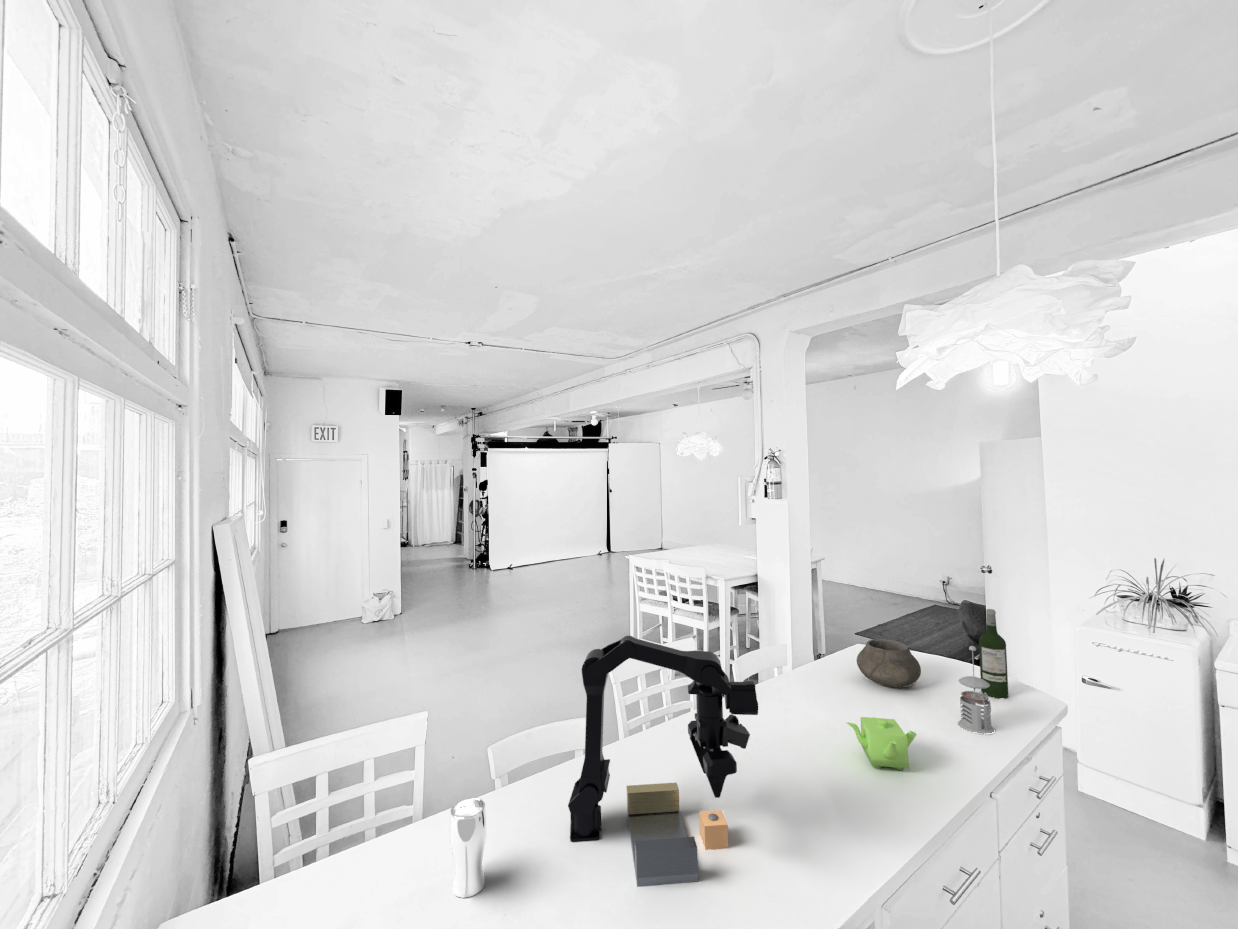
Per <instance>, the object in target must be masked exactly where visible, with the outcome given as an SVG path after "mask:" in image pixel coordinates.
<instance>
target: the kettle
mask: <svg viewBox="0 0 1238 929" xmlns="http://www.w3.org/2000/svg"><path fill="white" fill-rule="evenodd" d="M846 724H847V725H849V726H850V727H852V729H853V731H854V732H855V735H856V739H857V742H859V744H860V745H861V747H862V749H863V751H864V753H865V755H866V757H867V759H868V761H869V763H870V765H871V766H872V767H873V768H875V769H881V768H882V767H886V768H894V769H895V770H897V771H903V770H904V769H909V767H910V766H909V747H910V745H911V744H912V743H913V740H914V739H915V738H916V736H917V733H916V732H915V731H913V730H909V731H908V732H907V733H905V732H904V730H903V728H901V726H900V725H899V723H898V722H897V721H896V720H895V719H894V718H882V717H881V718H880V717H866V716H863V717H862V716H860V729H859V726H858V725H857V724H856V723H853V722H850V721H849V722H846Z"/></svg>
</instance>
